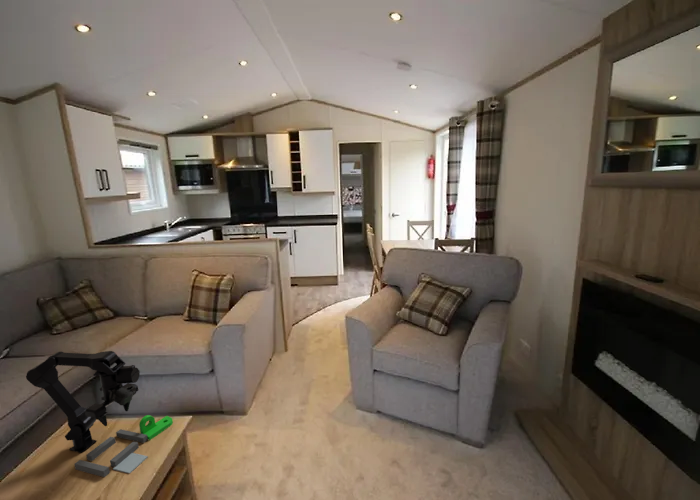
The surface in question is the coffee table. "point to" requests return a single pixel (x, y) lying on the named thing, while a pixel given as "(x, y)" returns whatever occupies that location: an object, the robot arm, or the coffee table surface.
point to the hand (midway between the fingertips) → (116, 418)
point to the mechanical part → (154, 426)
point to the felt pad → (130, 463)
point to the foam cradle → (104, 470)
